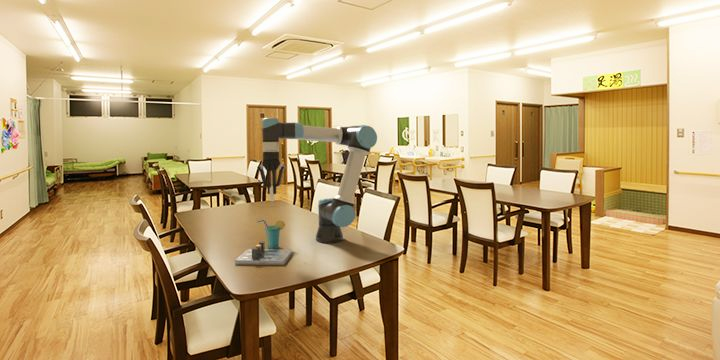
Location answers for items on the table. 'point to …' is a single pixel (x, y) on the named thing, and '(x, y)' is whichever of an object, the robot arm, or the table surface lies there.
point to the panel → (264, 256)
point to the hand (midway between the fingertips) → (272, 200)
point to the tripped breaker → (258, 248)
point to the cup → (273, 233)
